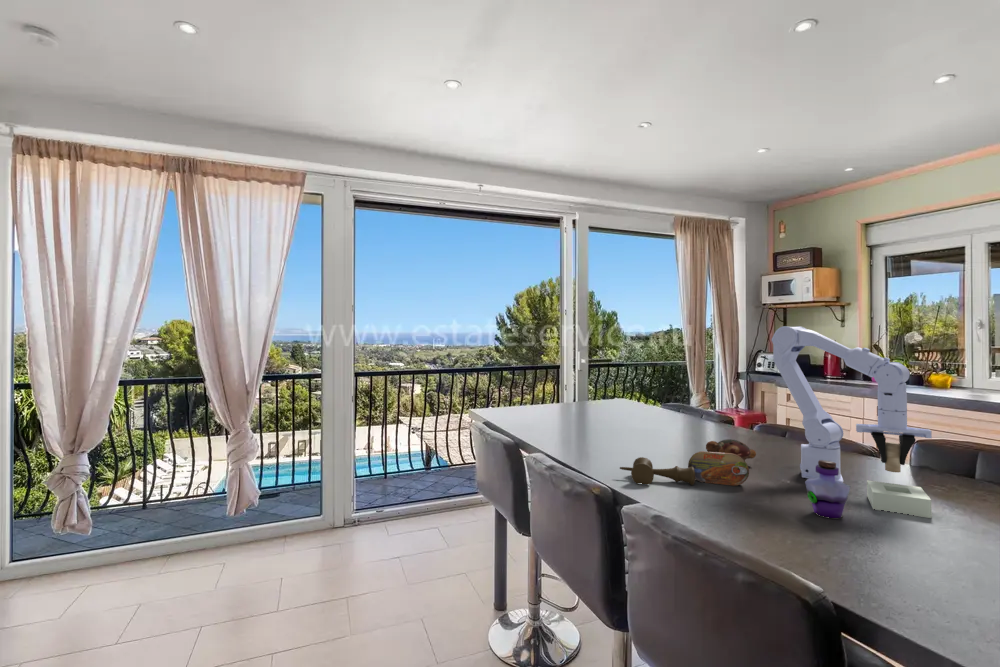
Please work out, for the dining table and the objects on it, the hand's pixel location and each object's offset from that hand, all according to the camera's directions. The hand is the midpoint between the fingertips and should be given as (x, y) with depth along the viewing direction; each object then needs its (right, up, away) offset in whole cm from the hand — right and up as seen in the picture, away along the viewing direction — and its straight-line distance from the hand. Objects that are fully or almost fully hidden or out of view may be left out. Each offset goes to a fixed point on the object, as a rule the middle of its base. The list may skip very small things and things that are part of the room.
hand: (892, 463), depth 117 cm
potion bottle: (-27, -8, -14) cm, 31 cm away
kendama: (-57, -9, +11) cm, 58 cm away
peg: (0, -2, 0) cm, 2 cm away
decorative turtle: (-29, -8, +26) cm, 39 cm away
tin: (-40, -8, +9) cm, 42 cm away
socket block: (-7, -8, -10) cm, 14 cm away
